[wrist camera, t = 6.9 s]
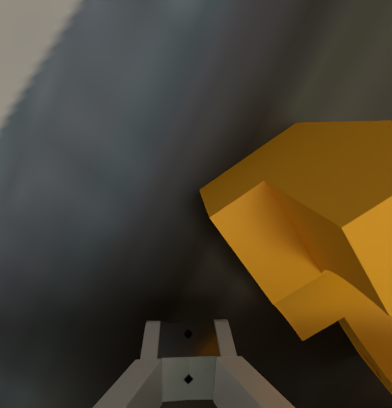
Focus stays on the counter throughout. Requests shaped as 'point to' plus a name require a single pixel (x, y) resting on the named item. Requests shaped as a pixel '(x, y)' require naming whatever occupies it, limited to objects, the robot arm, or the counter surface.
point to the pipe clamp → (318, 229)
